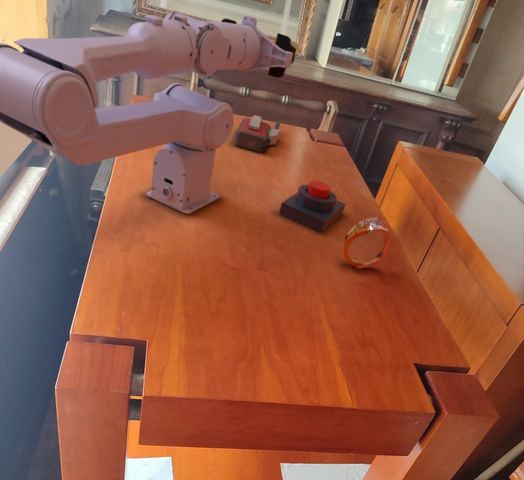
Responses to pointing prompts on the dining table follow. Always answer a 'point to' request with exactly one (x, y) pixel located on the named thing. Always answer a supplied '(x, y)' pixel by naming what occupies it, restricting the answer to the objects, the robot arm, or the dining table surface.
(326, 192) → the light button
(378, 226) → the ring
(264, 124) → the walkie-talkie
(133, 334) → the dining table surface
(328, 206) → the switch box
